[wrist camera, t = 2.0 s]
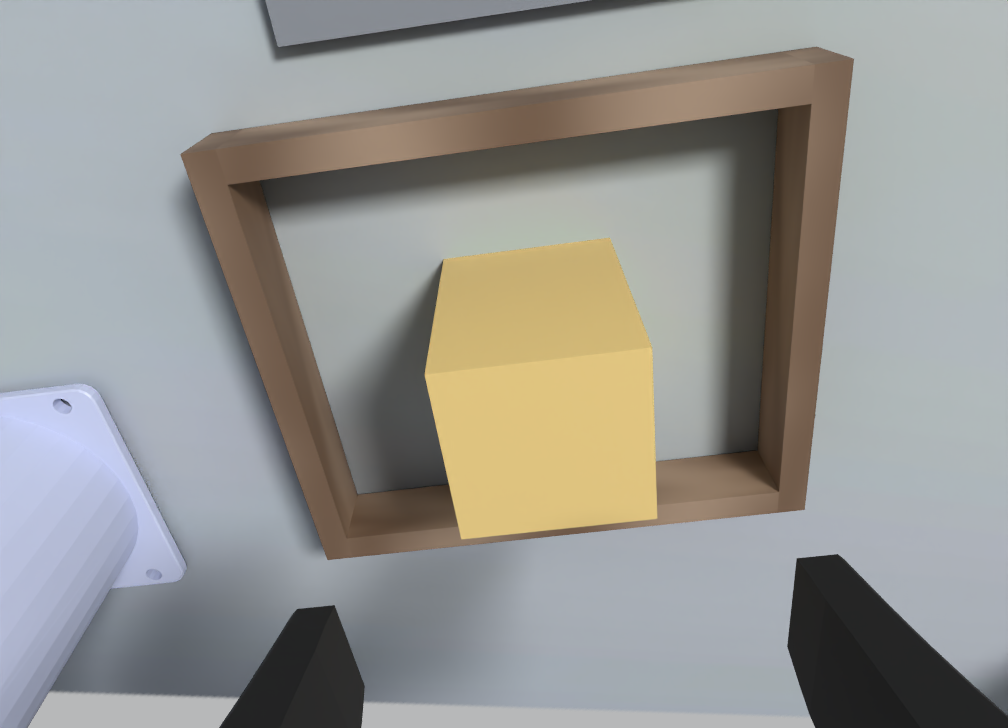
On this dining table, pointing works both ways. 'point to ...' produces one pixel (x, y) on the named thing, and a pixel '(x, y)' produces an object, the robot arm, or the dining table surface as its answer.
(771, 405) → the wooden picture frame
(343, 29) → the mat
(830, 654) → the robot arm
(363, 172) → the dining table surface
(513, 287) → the ochre block
